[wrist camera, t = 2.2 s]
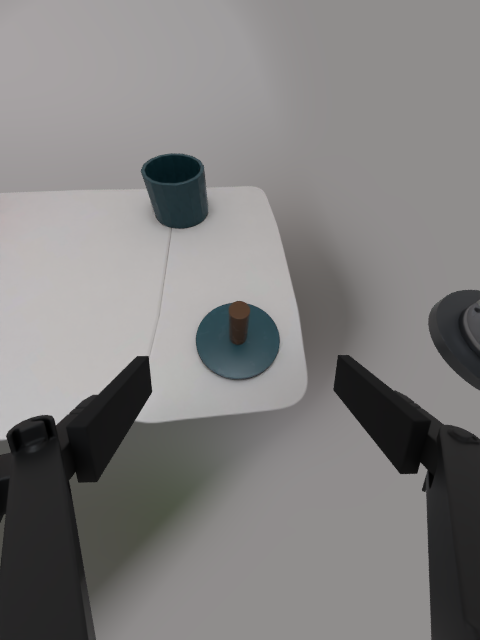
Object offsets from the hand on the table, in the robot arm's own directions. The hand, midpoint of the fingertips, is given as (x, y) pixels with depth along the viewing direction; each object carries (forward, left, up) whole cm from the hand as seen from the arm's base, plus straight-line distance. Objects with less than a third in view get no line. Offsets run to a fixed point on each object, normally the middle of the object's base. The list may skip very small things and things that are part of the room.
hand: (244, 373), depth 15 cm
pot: (+13, -45, -18) cm, 50 cm away
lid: (0, -11, -17) cm, 21 cm away
